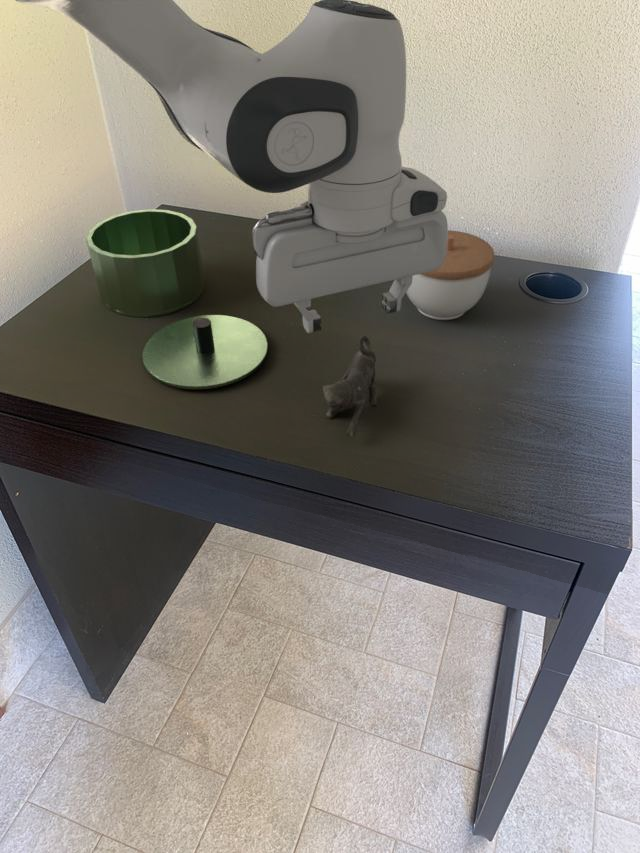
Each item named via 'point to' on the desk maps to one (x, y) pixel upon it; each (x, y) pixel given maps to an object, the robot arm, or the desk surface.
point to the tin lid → (205, 352)
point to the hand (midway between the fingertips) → (352, 319)
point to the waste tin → (146, 262)
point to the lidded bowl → (454, 278)
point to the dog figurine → (354, 386)
